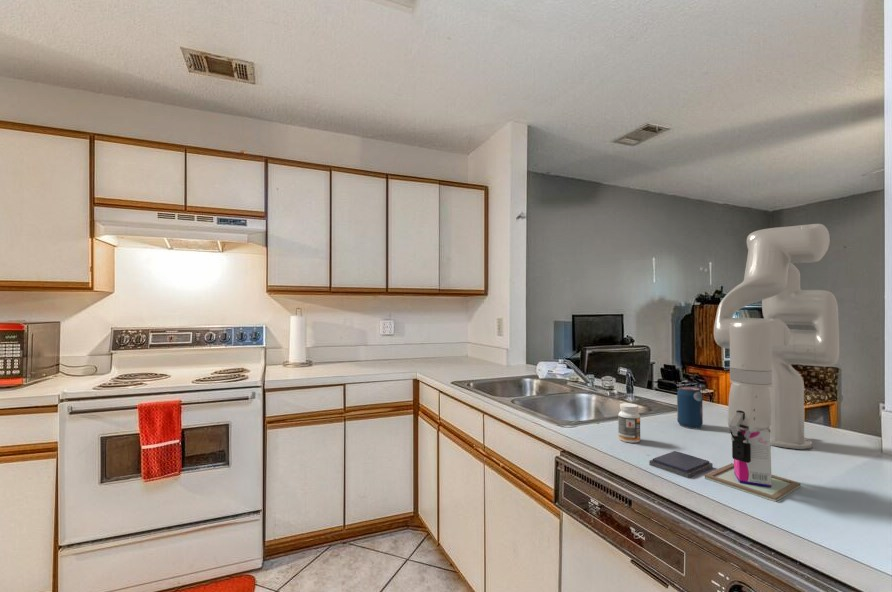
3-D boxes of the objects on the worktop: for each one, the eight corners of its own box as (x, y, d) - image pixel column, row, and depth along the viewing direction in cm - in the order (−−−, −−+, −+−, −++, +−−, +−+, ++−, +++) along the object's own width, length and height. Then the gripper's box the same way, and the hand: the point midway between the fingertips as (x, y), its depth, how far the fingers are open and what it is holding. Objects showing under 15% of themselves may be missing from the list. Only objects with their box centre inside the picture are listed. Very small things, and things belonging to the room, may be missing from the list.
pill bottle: (642, 444, 114) (642, 407, 115) (620, 442, 116) (620, 406, 116) (637, 437, 120) (637, 403, 120) (616, 436, 121) (616, 402, 121)
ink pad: (674, 455, 106) (674, 449, 106) (712, 467, 98) (712, 461, 98) (649, 464, 100) (649, 458, 100) (688, 478, 92) (688, 471, 92)
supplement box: (764, 477, 92) (764, 425, 92) (772, 488, 86) (771, 432, 87) (733, 473, 94) (732, 422, 95) (738, 483, 89) (738, 429, 89)
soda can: (707, 429, 128) (707, 390, 129) (684, 429, 129) (684, 390, 129) (694, 423, 135) (694, 385, 136) (672, 422, 135) (672, 385, 136)
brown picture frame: (731, 466, 99) (731, 463, 99) (800, 486, 88) (800, 482, 88) (704, 478, 92) (704, 475, 92) (775, 501, 81) (775, 498, 81)
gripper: (748, 371, 99) (749, 443, 98) (712, 378, 89) (713, 458, 89) (787, 375, 92) (788, 453, 92) (753, 384, 83) (754, 470, 83)
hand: (751, 455), depth 90 cm, fingers open, 9 cm apart
